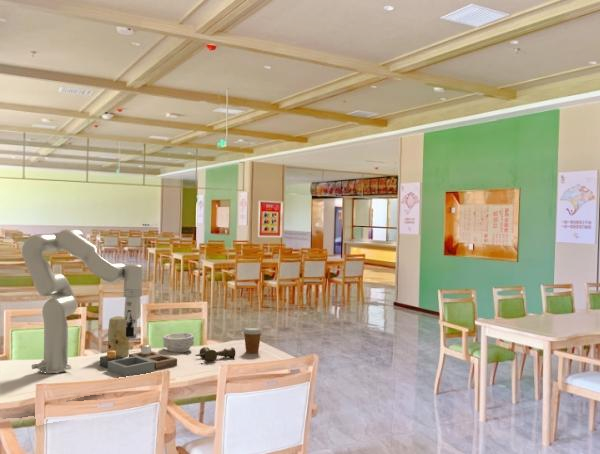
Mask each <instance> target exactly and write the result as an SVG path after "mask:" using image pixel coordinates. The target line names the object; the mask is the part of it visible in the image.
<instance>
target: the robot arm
mask: <svg viewBox="0 0 600 454" xmlns="http://www.w3.org/2000/svg"><path fill="white" fill-rule="evenodd" d="M21 247H22V248H21V256H22V260H23V261H24V264H25V266H26V268H27V270H28V272H29V275H30V277H31V280H32V282H33V284H34V287H35V288H36V292H37V293H38V294H39V295H40V296H42V297H51V298H50V299H48V300H47V301H46V302H45V303H44V304H43V307H42V310H41V312H42V318H43V359H41V362H38V363H35V364H31V369H32V370H35V369H37V370H40V371H42V372H46V373H56V374H60V373H59V372H63V373H66V372H65V371H68V370H71V369H72V366H71V364H68V359H69V358H68V355H69V354H68V353H69V352H68V351H69V350H68V348H69V325H68V321H67V317H69V316H72V315H73V314H74V313H75V312H77V308H78V301H77V299H76V295H75V294H74V291H73V290H72V286H71V284H70V282H69V280H68V278H67V277H66V276H64V274H62V273H58V272H54V271H53V270H52V267H51V265H50V263H49V261H48V260H47V258H46V257H45V256H44V254H48V253H49V254H50V253H56V252H62V251H63V252H64V251H66V252H67V253H69V254H70V255H72V256H73V257H74V258H76V259H78V260H79V261H81V262H82V263H83V264H84V266H85V267H86V268H87V269H88V270H89V272H91V273H93V275H96V276H97V277H99V278H100V279H101V280H103V281H105V282H108V283H113V282H119V281H122V280H123V298H124V299H125V301H124V314H123V315H124V316H123V317H124V319H125V320H126V337H133V336H134V327H133V323H134V321H137V322H138V319H140V318H141V315H142V314H141V312H142V310H141V305H142V304H141V298H142V295H143V294H142V293H143V291H142V290H143V266H142V265H141V264H137V263H136V264H135V263H134V264H133V263H132V264H131V263H130V264H128V263H122V262H116V263H110V262H109V261H107V260H106V259H104V257H101V255H99V254H98V251H97V250H98V249H97V246H96V245H95V244H93V243H91V242H90V241H89V240H87V239H86V238H85V235H84V233H83V232H82V231H81V230H79V229H75V228H73V229H72V228H71V229H63V230H61V231H60V232H53V233H37V234H32V235H31V236H29V237H28V238H26V240H25V241H24V242H23V245H22V246H21ZM130 321H132V324H131V322H130ZM40 371H39V372H40Z"/></svg>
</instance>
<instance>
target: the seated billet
mask: <svg viewBox="0 0 600 454" xmlns="http://www.w3.org/2000/svg"><path fill="white" fill-rule="evenodd" d="M140 347H141V348H140V352H141V356H142V357H146V356H151V351H152V345H151V344H142V345H141V346H140Z"/></svg>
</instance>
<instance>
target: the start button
mask: <svg viewBox="0 0 600 454" xmlns="http://www.w3.org/2000/svg"><path fill="white" fill-rule="evenodd" d="M106 356H107V358H109V359H111V358H116V351H115V350H110V351H109V350H107V351H106Z"/></svg>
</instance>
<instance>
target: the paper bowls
mask: <svg viewBox="0 0 600 454" xmlns="http://www.w3.org/2000/svg"><path fill="white" fill-rule="evenodd" d="M194 337H195V336H194V334H192V333H189V332H187V333H184V332H175V333H167V334H165V335H163V339H162V341H163V347H164V348H166V349H167V351H169V352H174V353H177V354H179V353H180V354H181V353H186V352H188V351H189V350H190V349H191V347H192V346H194V343H195V338H194Z"/></svg>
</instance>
